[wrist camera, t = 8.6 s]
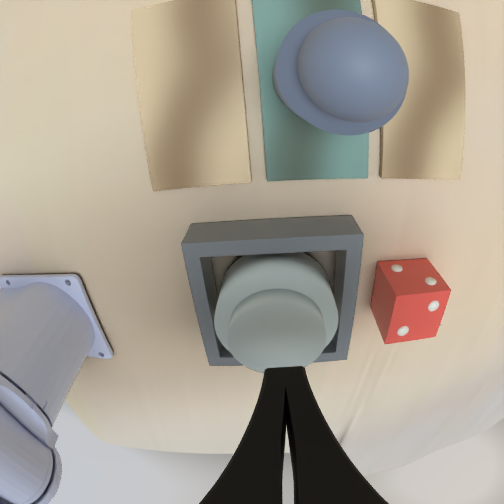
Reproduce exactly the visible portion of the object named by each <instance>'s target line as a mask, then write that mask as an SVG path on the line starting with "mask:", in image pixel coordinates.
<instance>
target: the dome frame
mask: <svg viewBox="0 0 504 504" xmlns="http://www.w3.org/2000/svg"><path fill="white" fill-rule="evenodd" d="M363 235H364V234H363V232H362V231H361V229H360V228H359V226H358V224H357V223H356V221H355V220H354V218H353V217H352V215H342V216H317V217H295V218H275V219H257V220H240V221H224V222H209V223H195V224H191V225H190V227H189V229H188V231H187V233H186V235H185V237H184V239H183V241H182V243H181V246H182V251H183V256H184V260H185V265H186V270H187V275H188V279H189V284H190V288H191V293H192V297H193V301H194V306H195V310H196V314H197V318H198V323H199V327H200V331H201V335H202V339H203V343H204V347H205V351H206V354H207V358H208V362H209V366H244V365H242V364H241V363H239V362H238V361H237V360H236V359H235V358H234V357H233V355H232V354H231V352H229V351H228V350H227V349H226V348H225V347H224V346H223V345H222V343H221V342H220V340H219V338H218V336H217V334H216V331H215V326H214V316H215V311H216V306H217V301H218V297H217V291H216V285H215V280H214V274H213V268H212V262H211V257H215V256H235V255H255V254H274V253H293V252H313V251H332V250H336V261H335V277H334V290H333V296H334V300H335V303H336V307H337V310H338V326H337V330H336V333H335V335H334V337H333V339H332V340H331V341H330V343H329V344H328V345H327V346H326V347H325V348H324V349H323V351H322V353H321V354H320V355H319V357H318V358H317V359H316V360H315V361H313V362H326V361H337V360H347V355H348V350H349V344H350V338H351V332H352V326H353V320H354V313H355V306H356V299H357V291H358V283H359V275H360V266H361V256H362V246H363ZM313 362H312V363H313Z"/></svg>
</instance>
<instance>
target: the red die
mask: <svg viewBox="0 0 504 504" xmlns="http://www.w3.org/2000/svg"><path fill="white" fill-rule="evenodd" d="M450 292H451V289H450V288H449V286H448V285H447V284H446V282H445V281H444V280H443V278H442V277H441V276H440V274H439V273H438V272H437V271H436V269H435V268H434V267H433V265H432V264H431V263H430V262H429V260H428V259H427V258H422V259H408V260H393V261H377V268H376V275H375V282H374V288H373V295H372V301H371V306H370V308H371V310H372V313H373V315H374V318H375V320H376V323H377V325H378V328H379V330H380V333H381V336H382V338H383V341H384V343H385V344H390V343H397V342H404V341H411V340H418V339H424V338H430V337H435V336H436V334H437V331H438V328H439V325H440V323H441V320H442V317H443V314H444V311H445V308H446V305H447V302H448V298H449V295H450Z"/></svg>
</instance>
